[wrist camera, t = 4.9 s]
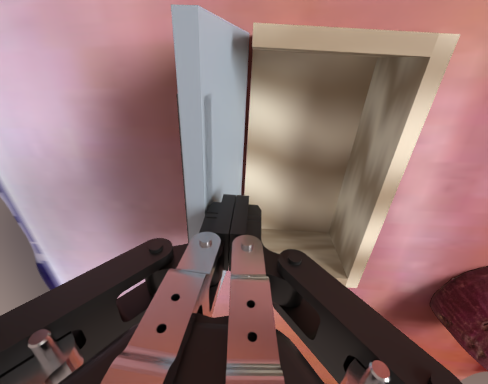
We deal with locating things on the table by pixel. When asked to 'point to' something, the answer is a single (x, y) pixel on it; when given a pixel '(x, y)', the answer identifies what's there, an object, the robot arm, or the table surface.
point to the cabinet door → (209, 107)
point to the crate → (335, 133)
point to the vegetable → (466, 311)
